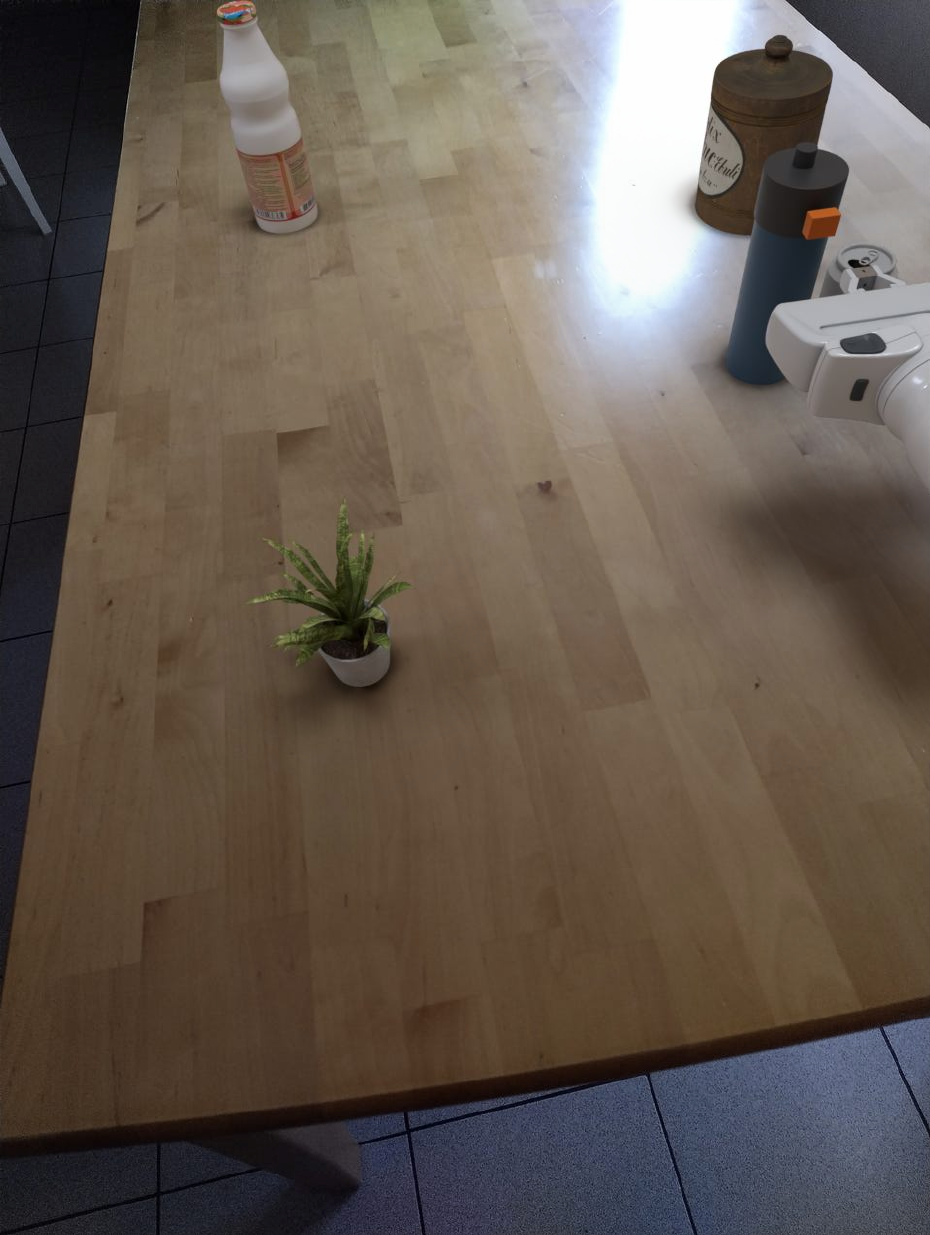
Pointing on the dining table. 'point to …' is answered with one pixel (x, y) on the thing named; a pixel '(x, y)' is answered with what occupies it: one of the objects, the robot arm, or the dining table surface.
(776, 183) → the bottle
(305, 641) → the house plant
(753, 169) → the wooden container
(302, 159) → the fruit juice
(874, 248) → the can
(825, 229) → the orange block
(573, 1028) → the dining table surface
